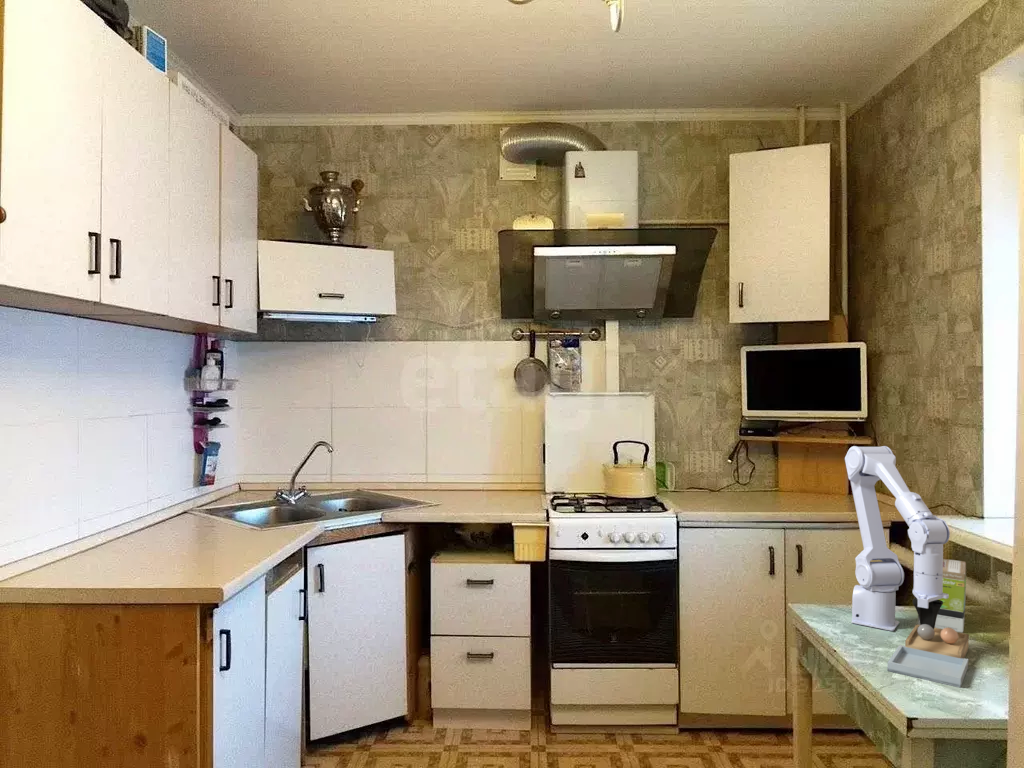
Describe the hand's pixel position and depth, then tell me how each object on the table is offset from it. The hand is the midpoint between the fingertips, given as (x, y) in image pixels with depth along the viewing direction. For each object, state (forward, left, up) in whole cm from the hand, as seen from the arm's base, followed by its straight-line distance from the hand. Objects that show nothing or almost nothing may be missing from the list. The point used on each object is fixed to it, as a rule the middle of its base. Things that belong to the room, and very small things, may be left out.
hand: (927, 632), depth 166 cm
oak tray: (+2, -1, -4) cm, 4 cm away
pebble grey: (0, -2, 0) cm, 2 cm away
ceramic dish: (+2, -14, -4) cm, 14 cm away
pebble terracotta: (+4, -1, 0) cm, 5 cm away
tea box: (0, +24, -4) cm, 24 cm away
